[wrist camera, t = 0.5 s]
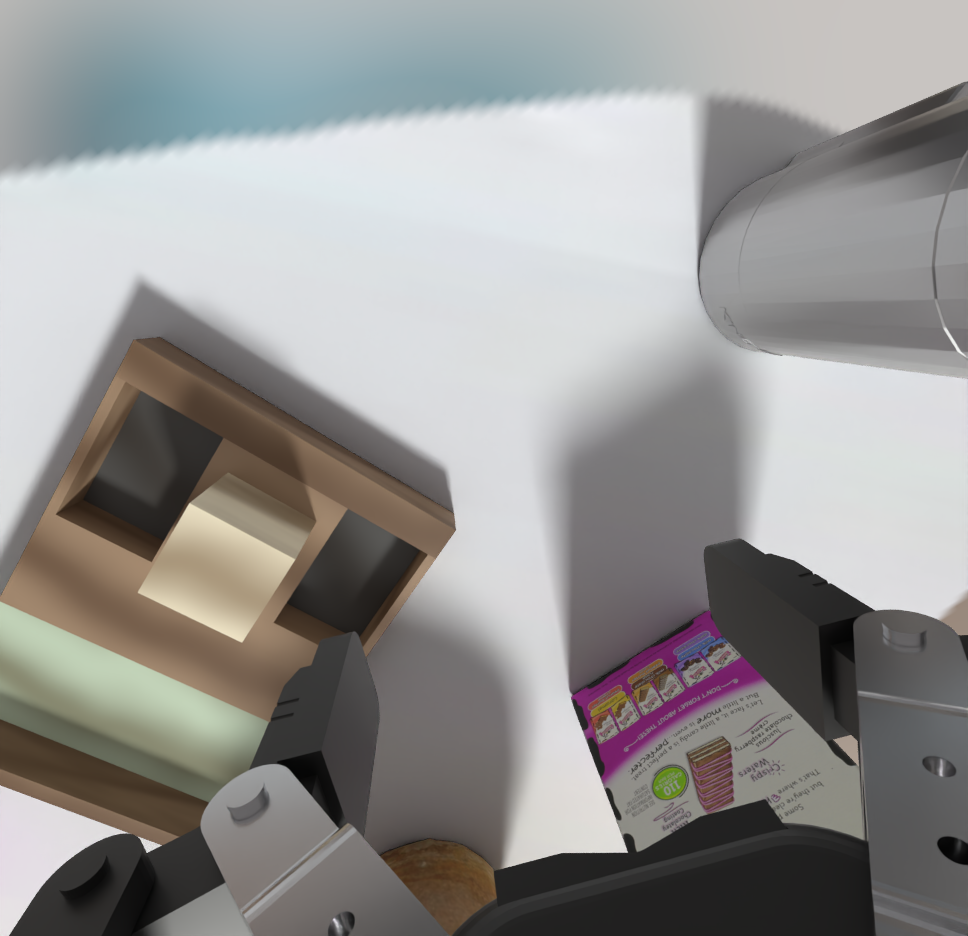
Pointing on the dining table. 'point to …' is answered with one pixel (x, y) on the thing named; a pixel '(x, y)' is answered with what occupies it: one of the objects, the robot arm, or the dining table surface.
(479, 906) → the potted plant
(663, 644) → the candy bar box
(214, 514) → the block
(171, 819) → the board
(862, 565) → the dining table surface
